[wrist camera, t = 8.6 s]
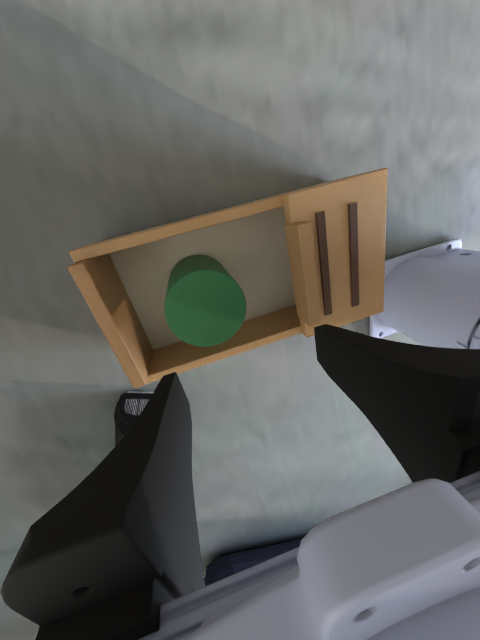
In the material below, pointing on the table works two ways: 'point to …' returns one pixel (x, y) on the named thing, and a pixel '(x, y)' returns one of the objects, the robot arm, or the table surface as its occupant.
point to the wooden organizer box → (244, 272)
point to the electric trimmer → (129, 411)
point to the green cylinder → (203, 302)
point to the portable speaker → (244, 560)
